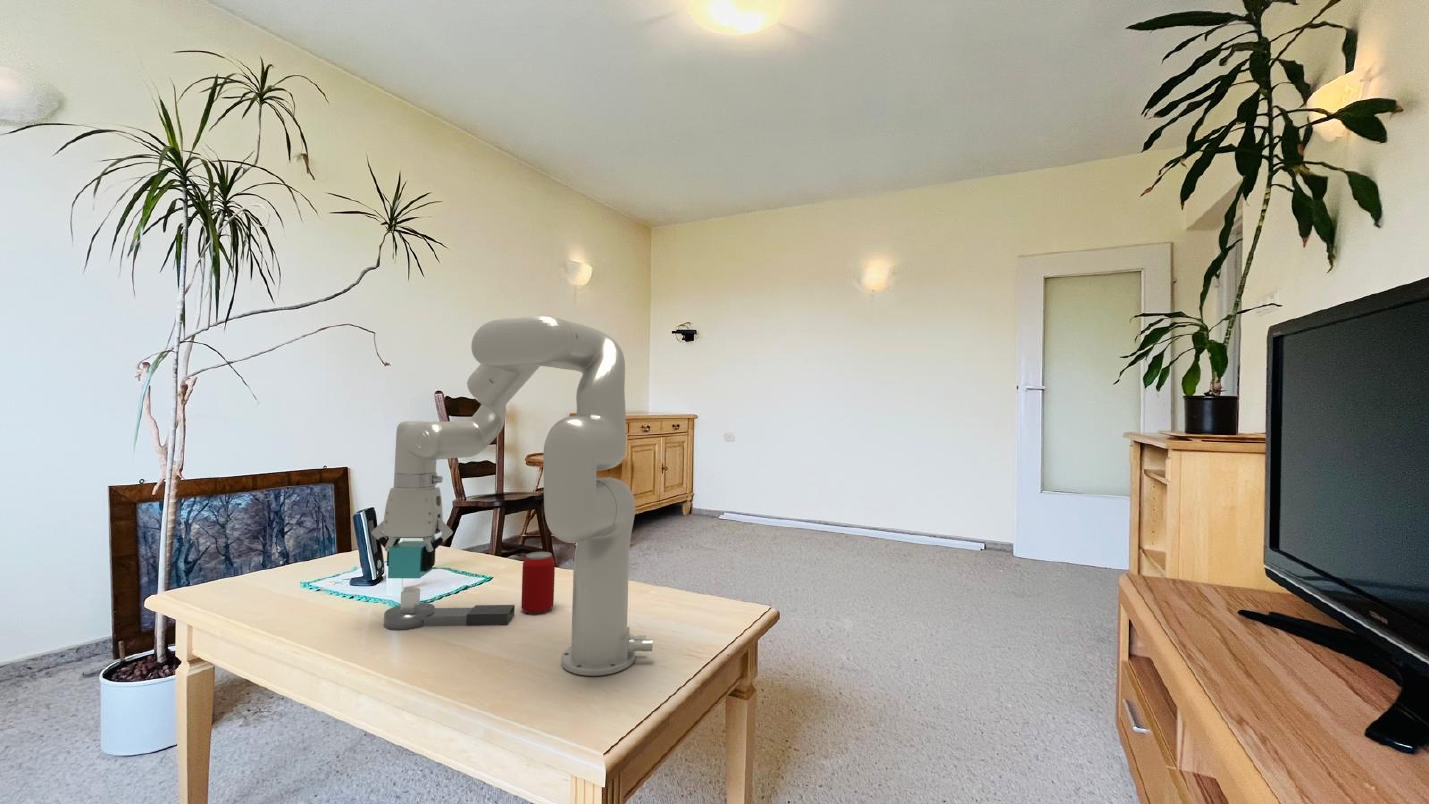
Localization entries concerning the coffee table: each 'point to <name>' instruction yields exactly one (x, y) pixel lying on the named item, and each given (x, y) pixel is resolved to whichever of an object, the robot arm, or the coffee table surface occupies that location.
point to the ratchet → (442, 614)
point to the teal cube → (407, 560)
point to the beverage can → (538, 582)
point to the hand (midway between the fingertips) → (410, 568)
